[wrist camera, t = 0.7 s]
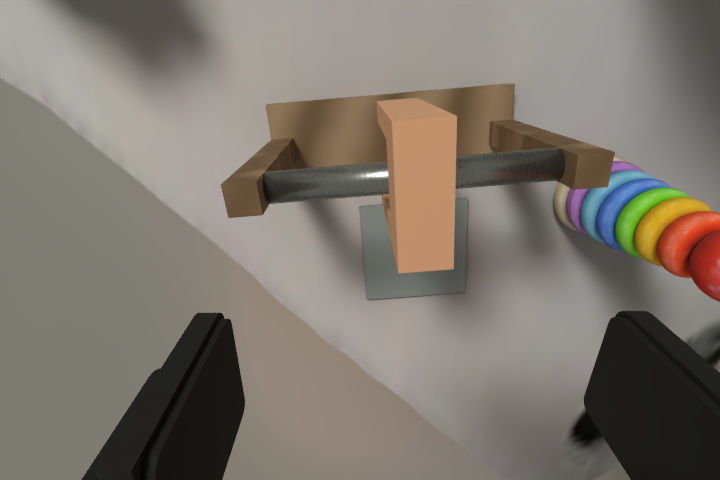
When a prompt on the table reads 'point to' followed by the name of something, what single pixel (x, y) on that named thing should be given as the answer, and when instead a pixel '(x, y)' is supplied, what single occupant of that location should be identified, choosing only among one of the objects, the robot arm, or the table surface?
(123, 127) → the table surface
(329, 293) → the table surface
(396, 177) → the tall peach block
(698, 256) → the stacking toy
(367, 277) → the mat
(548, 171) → the rack
